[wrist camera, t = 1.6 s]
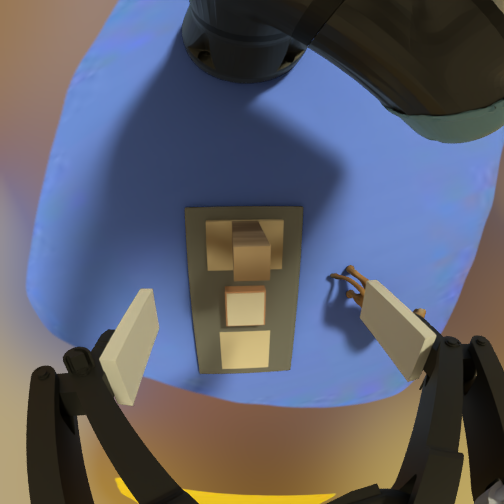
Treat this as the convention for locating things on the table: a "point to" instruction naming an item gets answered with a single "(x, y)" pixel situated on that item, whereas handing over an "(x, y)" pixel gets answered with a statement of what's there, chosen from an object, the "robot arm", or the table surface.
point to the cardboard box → (245, 247)
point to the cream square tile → (245, 305)
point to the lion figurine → (359, 297)
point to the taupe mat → (213, 285)
